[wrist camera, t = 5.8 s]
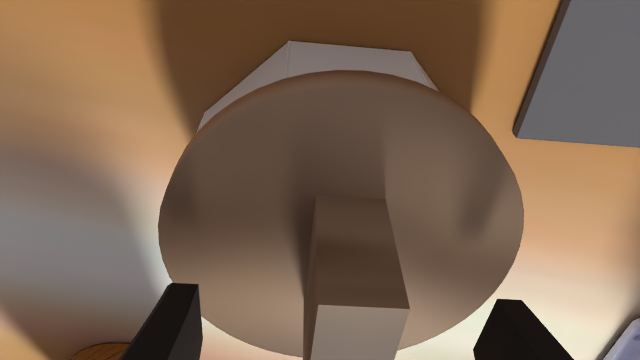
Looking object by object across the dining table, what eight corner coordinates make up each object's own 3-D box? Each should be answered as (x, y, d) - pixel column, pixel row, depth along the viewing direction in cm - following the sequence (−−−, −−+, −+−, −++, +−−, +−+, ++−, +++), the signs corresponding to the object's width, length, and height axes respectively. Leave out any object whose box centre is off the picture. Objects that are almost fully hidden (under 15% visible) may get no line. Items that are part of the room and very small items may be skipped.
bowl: (427, 263, 20) (447, 334, 17) (211, 251, 19) (194, 322, 16) (494, 58, 14) (539, 109, 12) (200, 31, 14) (172, 79, 11)
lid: (457, 340, 17) (498, 474, 13) (180, 328, 16) (144, 467, 13) (567, 88, 11) (692, 201, 8) (148, 51, 11) (62, 158, 7)
